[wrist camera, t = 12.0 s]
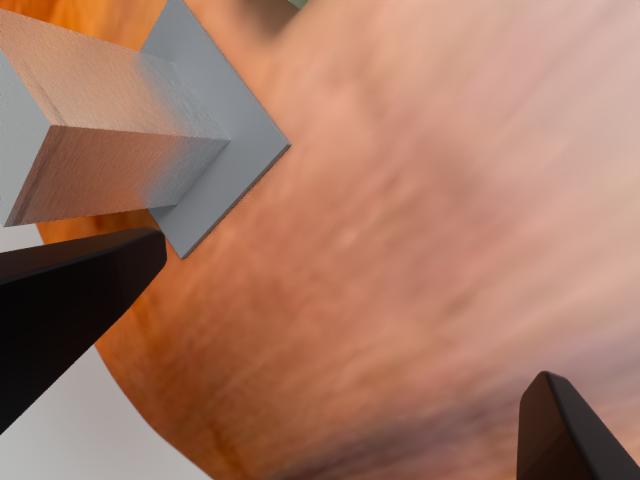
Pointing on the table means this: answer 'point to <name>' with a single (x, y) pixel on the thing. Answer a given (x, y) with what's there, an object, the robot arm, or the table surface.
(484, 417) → the table surface
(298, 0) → the pale green block
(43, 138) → the silver grey block
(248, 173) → the rubber mat
